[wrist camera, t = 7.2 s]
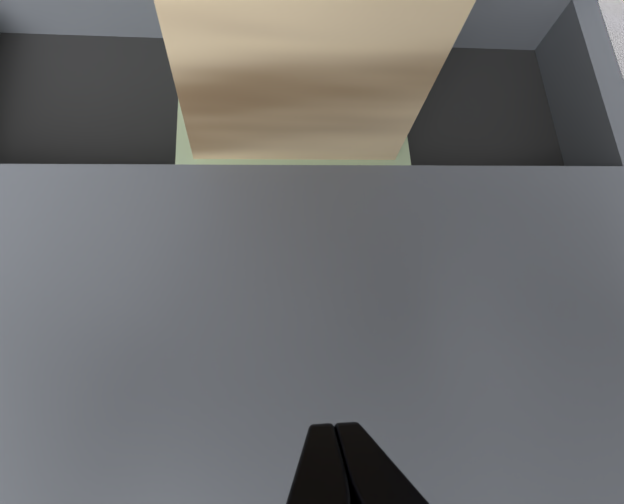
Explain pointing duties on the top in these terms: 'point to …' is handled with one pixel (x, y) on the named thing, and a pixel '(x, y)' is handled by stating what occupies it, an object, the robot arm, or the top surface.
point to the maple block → (305, 73)
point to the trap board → (310, 274)
